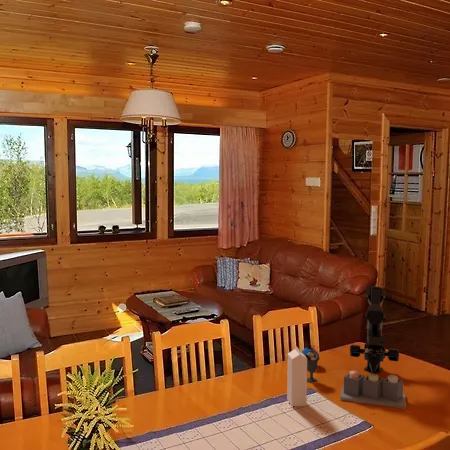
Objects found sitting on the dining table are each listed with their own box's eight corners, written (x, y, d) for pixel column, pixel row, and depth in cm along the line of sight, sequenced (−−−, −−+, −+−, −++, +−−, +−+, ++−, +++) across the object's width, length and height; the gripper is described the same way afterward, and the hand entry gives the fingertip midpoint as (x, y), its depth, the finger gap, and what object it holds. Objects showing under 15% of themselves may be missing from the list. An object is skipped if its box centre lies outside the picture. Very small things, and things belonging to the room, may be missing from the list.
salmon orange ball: (351, 379, 194) (352, 369, 194) (360, 381, 192) (360, 372, 192) (347, 382, 191) (348, 372, 191) (356, 384, 189) (356, 375, 189)
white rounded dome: (389, 383, 190) (390, 374, 189) (399, 386, 188) (399, 376, 187) (386, 387, 187) (386, 377, 187) (395, 389, 185) (395, 379, 184)
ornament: (319, 363, 226) (320, 342, 225) (317, 370, 217) (317, 348, 216) (301, 361, 228) (301, 340, 227) (298, 367, 220) (298, 346, 219)
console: (342, 388, 199) (343, 369, 198) (404, 396, 191) (405, 376, 191) (340, 400, 188) (341, 380, 187) (405, 408, 181) (406, 388, 180)
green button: (370, 382, 191) (370, 372, 191) (379, 385, 189) (379, 375, 188) (366, 385, 188) (367, 375, 188) (375, 388, 186) (376, 378, 186)
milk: (301, 399, 189) (302, 344, 187) (306, 406, 183) (307, 350, 181) (286, 400, 188) (287, 345, 186) (291, 407, 182) (292, 350, 180)
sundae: (318, 377, 209) (319, 344, 208) (319, 384, 203) (320, 349, 201) (303, 376, 210) (303, 343, 208) (304, 383, 203) (304, 349, 202)
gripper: (350, 325, 195) (348, 361, 186) (399, 329, 189) (399, 367, 180) (351, 338, 203) (349, 373, 194) (398, 342, 198) (398, 379, 188)
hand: (373, 372), depth 189 cm, fingers closed
